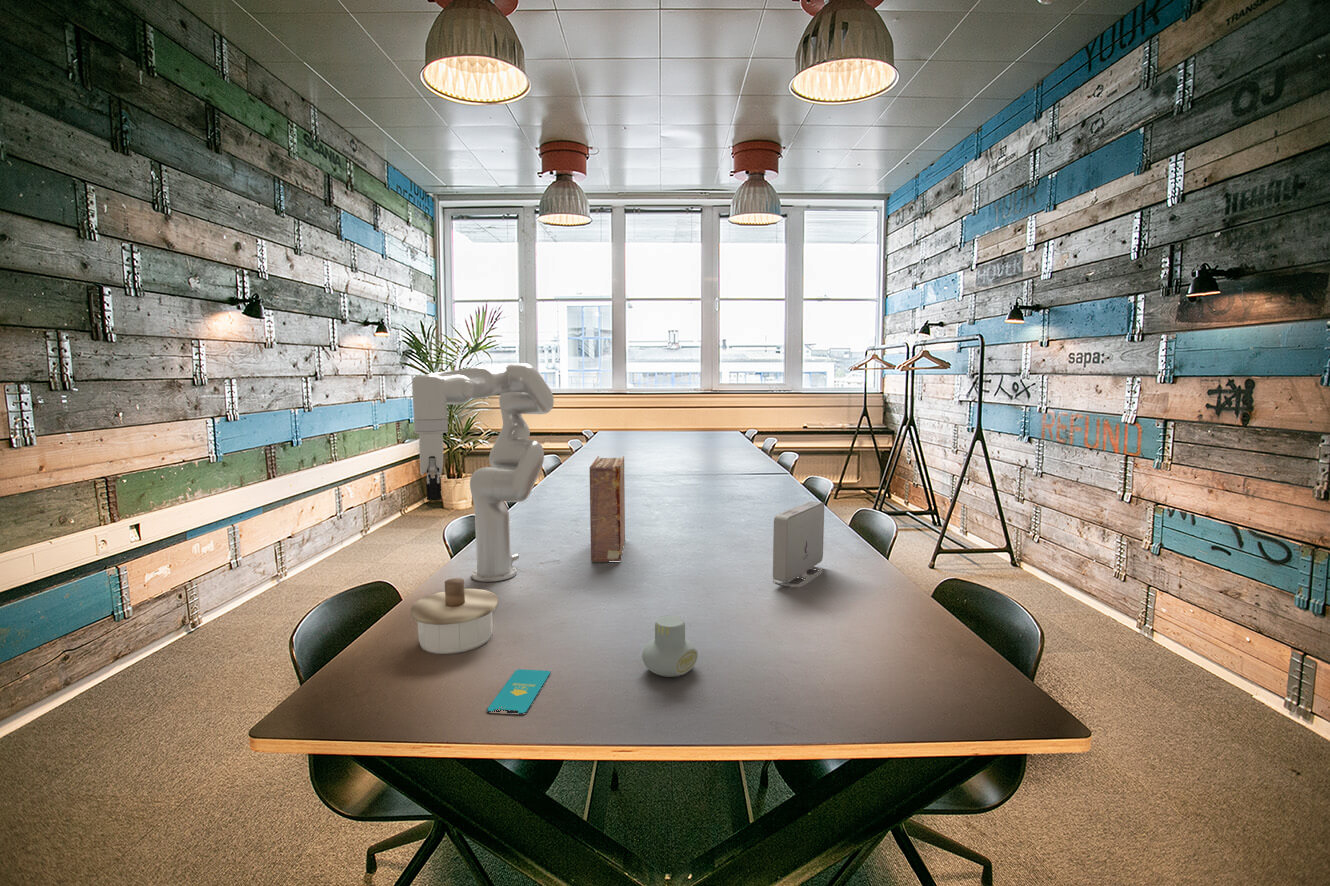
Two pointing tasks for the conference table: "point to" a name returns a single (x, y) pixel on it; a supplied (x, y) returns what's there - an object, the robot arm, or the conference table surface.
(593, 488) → the book
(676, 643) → the air freshener
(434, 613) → the lid
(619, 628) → the conference table surface
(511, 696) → the smartphone
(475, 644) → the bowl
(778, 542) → the network device
